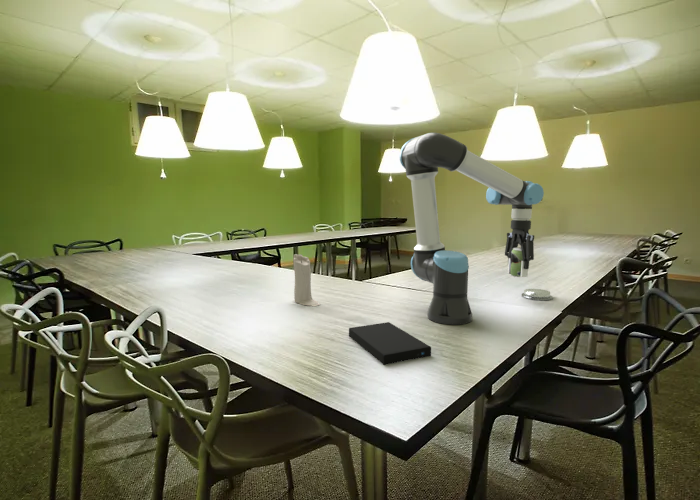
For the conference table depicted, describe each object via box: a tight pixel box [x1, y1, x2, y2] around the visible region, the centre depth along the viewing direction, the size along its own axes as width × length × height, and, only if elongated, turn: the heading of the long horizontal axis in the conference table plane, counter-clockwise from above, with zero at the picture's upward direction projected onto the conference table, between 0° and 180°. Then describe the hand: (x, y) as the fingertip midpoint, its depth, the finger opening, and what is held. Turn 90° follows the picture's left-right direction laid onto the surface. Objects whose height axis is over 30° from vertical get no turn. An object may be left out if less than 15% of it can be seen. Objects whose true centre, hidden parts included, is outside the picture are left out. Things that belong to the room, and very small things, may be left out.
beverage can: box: [509, 246, 523, 278], centre depth 157 cm, size 6×7×12 cm
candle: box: [293, 253, 321, 307], centre depth 157 cm, size 7×14×20 cm, turn 41°
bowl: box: [521, 288, 553, 302], centre depth 163 cm, size 12×12×2 cm
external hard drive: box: [348, 321, 432, 366], centre depth 110 cm, size 14×23×3 cm, turn 23°
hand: (517, 274), depth 158 cm, fingers closed on beverage can, 7 cm apart
